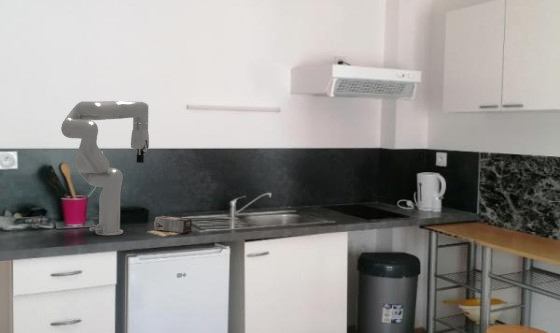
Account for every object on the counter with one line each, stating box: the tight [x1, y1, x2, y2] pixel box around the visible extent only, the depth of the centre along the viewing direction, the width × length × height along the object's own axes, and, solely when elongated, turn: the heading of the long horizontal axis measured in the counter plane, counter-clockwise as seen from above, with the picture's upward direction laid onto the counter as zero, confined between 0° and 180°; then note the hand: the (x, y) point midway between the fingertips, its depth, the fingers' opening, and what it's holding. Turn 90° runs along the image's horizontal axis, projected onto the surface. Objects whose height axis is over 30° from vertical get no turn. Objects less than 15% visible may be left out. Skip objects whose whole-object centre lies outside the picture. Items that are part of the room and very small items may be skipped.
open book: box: [146, 229, 182, 238], centre depth 259 cm, size 11×13×1 cm
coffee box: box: [154, 215, 193, 234], centre depth 264 cm, size 9×6×16 cm
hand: (140, 162), depth 274 cm, fingers closed
